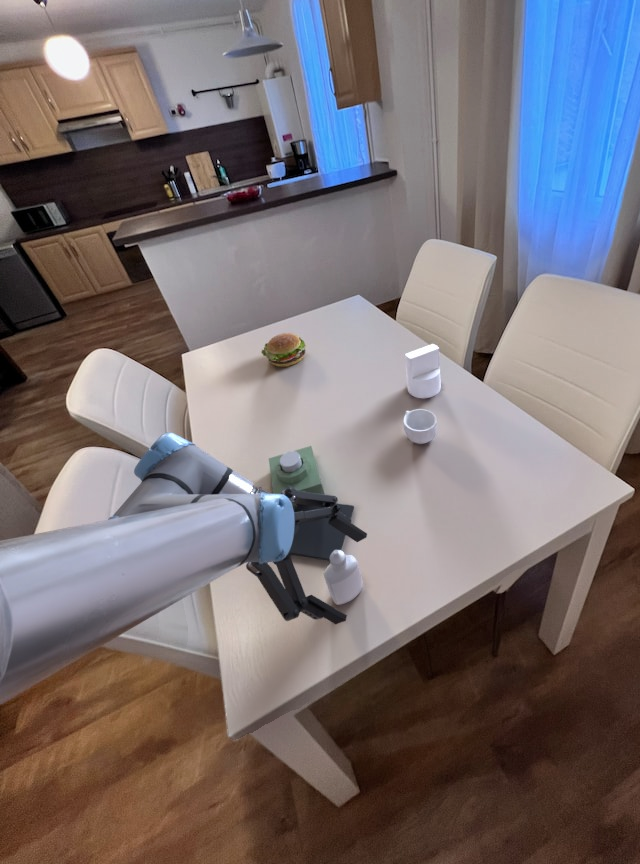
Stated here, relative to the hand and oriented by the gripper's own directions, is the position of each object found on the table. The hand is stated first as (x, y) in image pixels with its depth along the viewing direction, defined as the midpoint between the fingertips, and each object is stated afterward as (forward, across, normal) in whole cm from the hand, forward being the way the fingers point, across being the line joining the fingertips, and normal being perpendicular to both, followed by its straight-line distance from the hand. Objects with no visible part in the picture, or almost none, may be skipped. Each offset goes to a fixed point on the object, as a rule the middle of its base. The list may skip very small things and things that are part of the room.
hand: (352, 575), depth 65 cm
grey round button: (-14, -21, -13) cm, 29 cm away
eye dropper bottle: (+3, 0, -5) cm, 6 cm away
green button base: (-10, -21, -17) cm, 29 cm away
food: (-26, -71, -34) cm, 83 cm away
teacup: (+8, -39, 0) cm, 40 cm away
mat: (-4, -11, -12) cm, 16 cm away
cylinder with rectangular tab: (+8, -58, -1) cm, 58 cm away
